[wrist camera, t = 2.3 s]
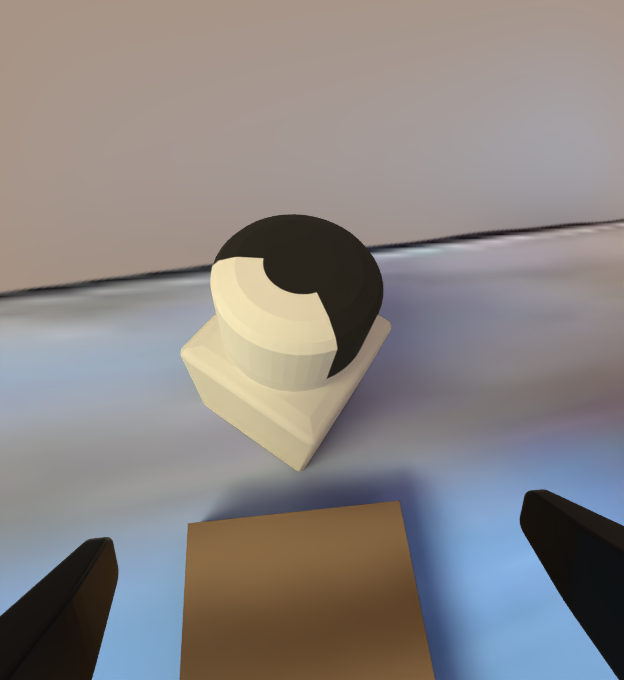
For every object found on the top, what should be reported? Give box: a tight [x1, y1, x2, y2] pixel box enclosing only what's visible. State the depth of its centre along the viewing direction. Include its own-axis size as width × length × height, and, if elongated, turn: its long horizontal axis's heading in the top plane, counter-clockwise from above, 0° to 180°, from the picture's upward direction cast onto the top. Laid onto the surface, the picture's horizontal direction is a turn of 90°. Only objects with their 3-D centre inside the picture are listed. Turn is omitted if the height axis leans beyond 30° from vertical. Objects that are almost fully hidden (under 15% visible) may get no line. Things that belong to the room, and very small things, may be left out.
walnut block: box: [180, 501, 435, 680], centre depth 16 cm, size 10×10×3 cm
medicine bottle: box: [181, 214, 391, 471], centre depth 17 cm, size 7×7×12 cm
